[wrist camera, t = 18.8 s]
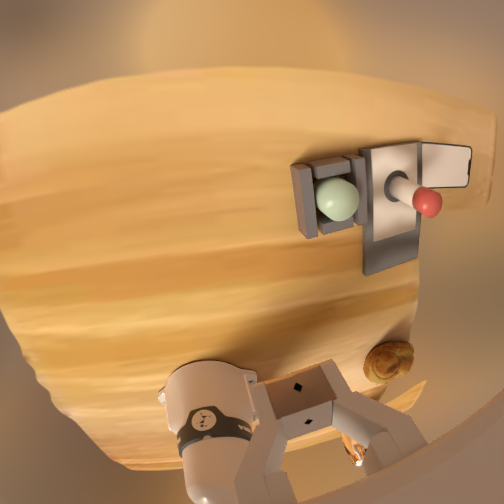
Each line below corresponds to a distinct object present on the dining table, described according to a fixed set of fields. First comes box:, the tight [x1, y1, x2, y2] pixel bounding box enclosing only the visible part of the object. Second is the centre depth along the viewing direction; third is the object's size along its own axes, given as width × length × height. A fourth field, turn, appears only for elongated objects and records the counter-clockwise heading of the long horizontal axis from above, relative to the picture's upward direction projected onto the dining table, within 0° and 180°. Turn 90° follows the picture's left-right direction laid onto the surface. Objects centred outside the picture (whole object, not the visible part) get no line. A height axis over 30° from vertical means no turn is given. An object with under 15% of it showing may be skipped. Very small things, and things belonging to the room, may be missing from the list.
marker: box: [388, 176, 442, 218], centre depth 36 cm, size 3×3×8 cm
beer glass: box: [340, 432, 367, 467], centre depth 63 cm, size 7×7×15 cm
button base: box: [290, 154, 368, 239], centre depth 38 cm, size 9×9×3 cm
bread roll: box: [363, 341, 414, 384], centre depth 56 cm, size 13×10×8 cm
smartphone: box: [422, 142, 472, 189], centre depth 42 cm, size 8×1×16 cm
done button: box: [313, 175, 359, 221], centre depth 37 cm, size 5×5×4 cm
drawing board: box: [359, 141, 422, 276], centre depth 42 cm, size 20×11×1 cm, turn 10°
